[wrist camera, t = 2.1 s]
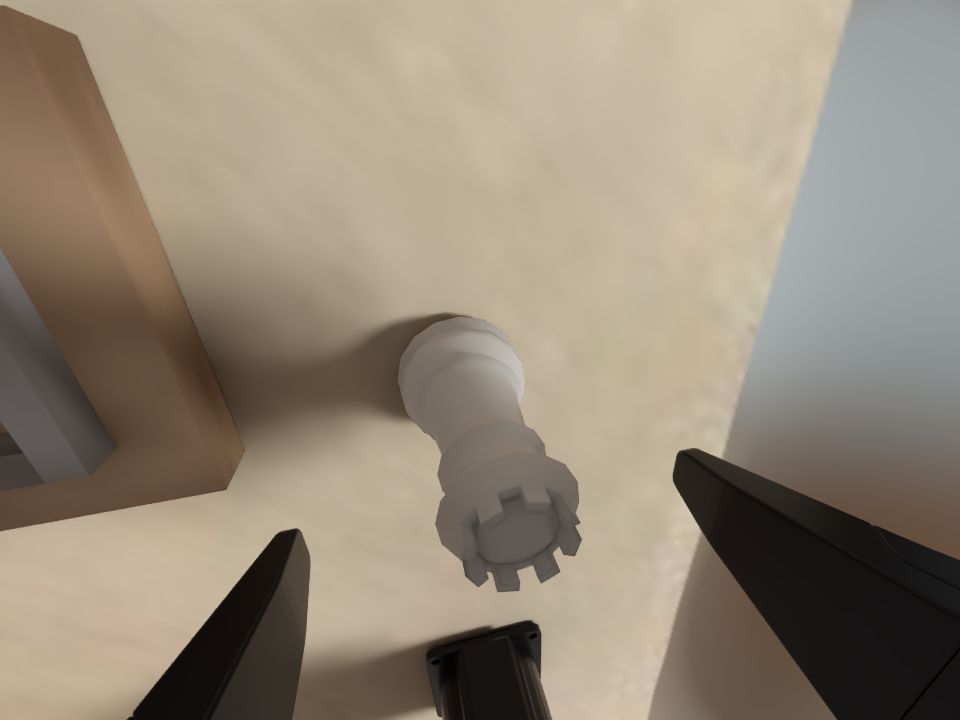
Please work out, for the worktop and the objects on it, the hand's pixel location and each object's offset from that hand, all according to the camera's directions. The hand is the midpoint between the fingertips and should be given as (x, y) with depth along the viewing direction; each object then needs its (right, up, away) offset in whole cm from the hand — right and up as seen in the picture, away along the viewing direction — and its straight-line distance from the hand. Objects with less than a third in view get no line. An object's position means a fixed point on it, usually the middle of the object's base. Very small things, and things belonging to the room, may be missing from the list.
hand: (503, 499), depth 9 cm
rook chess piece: (-1, +3, +6) cm, 7 cm away
